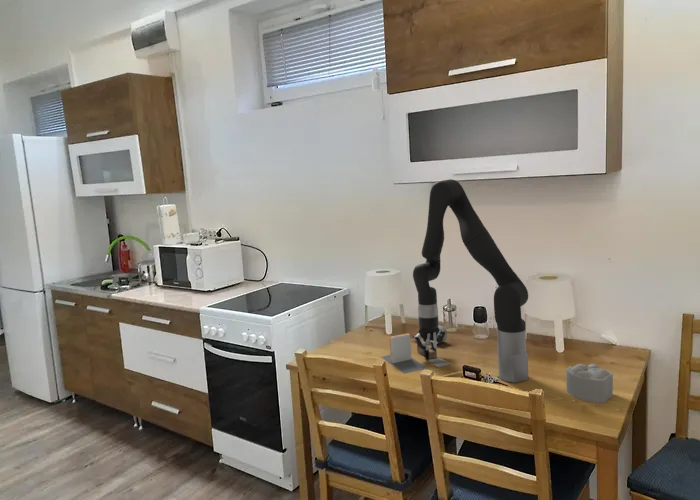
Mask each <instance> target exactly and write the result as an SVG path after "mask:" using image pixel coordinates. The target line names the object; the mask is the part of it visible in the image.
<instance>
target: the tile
mask: <svg viewBox="0 0 700 500" xmlns="http://www.w3.org/2000/svg"><path fill="white" fill-rule="evenodd" d="M411 345H412V344H411V334H410V333H408V332H407V333H402V334H396V335H393V336H389V350H390V354H389V355H391V362H392V363H396V362H401V361H406V360H410V359H411V357H412V346H411Z"/></svg>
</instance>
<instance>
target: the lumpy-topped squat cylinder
mask: <svg viewBox="0 0 700 500" xmlns="http://www.w3.org/2000/svg"><path fill="white" fill-rule="evenodd" d="M565 371H566V375H565V376H566V381H565V382H566V389H565V390H566V393H567V394H569V395H570V396H571V397H573V398H575V399H579V400H582V401H585V402H590V403H595V404H605V403H606V402H607V401H608V400H610V399H611V398H612V397H614V390H613V389H614V386H613V385H614V381H613V380H614V377H613V376H614V373H613V372H611V371H609V370H607V369H605V368H601V367H600V366H599V365H598V364H595V363H590V364H589V365H585V363H577V364H576V365H570V366H568V367H567V368H566V370H565Z"/></svg>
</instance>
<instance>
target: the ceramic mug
mask: <svg viewBox="0 0 700 500" xmlns="http://www.w3.org/2000/svg"><path fill="white" fill-rule="evenodd" d="M438 328H439V330H442V331H444V332H445V335H444V338H443V340H442V343H444V342H445V341H446V340H447V336H448V335H447V334H448V333H447V330H446V328H445V327H444V326H443V325H439V326H438ZM437 336H438V335H437ZM437 336H436V339H437ZM429 346H431V342H430V341H429Z"/></svg>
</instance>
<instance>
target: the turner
mask: <svg viewBox="0 0 700 500" xmlns="http://www.w3.org/2000/svg"><path fill="white" fill-rule="evenodd" d="M416 348H417V349H416V351H417V352H416V353H418V354H420V355H421V356H423V357H424V353H423V350H422V349H421V348H419V347H418V345H417V344H416ZM428 350H429V359H427V360H428V362H429V363H430V364H432V365H433V366H436V367H437V368H442V367H446V366H449V365H451V363H450V362H449V361H448V360H445V359H443V358H441V357H438V356H437V350H436V351H434V350H432V349H431V347H429V348H428Z"/></svg>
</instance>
